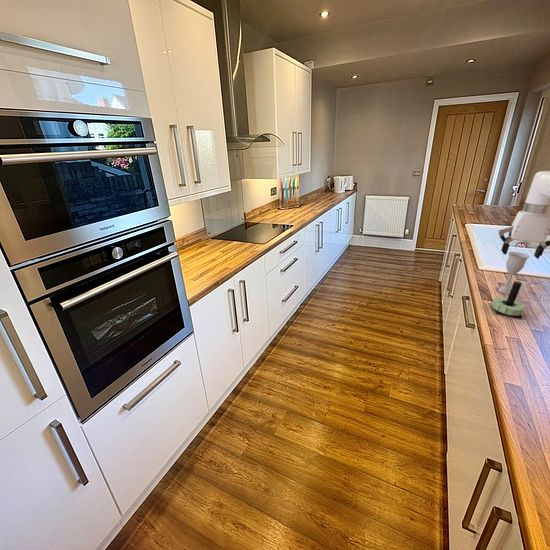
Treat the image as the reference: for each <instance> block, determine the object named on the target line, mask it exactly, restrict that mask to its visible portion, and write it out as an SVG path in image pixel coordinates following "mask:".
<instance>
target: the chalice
mask: <svg viewBox="0 0 550 550" xmlns="http://www.w3.org/2000/svg"><path fill="white" fill-rule="evenodd" d="M529 258H530V255H529V254H526V253H524V252H519V251H509V252H508V257H507V260H506V262H505V266H506V271H507V274H509V276H508V277H507V279H506V280H505V282H506V283H505V284H504V285H501V286H500V287H499V288H498V289H497V291H498V292H500V293H502V294H504V295H505V294H506V295H509V294H510V291H511V289H512V287H511V286H510V284H511V283H512V281H511V280H512V279H513V276H514V275H517V274H518V273H519V272H521V271H522V269H524V268H525V265H526V263H527V260H528V259H529Z"/></svg>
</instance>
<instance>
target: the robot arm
mask: <svg viewBox="0 0 550 550" xmlns="http://www.w3.org/2000/svg"><path fill="white" fill-rule="evenodd" d="M497 232H498V235H499V239H501V241H502V243H503V244H502V246H501V252H502V254H503V255H504V256H505V255H507V254H508V251H509V248H510V243H512V242H513V241H521V242H531V243H538V244H539V245H537V247H536V249H535V251H534V254H533V256H534V257H535V259H540V257H542V256H543V254H544V251H545V249H547V248H548V247H550V239H548V240H547V238H548V236H549V237H550V170H540V171H538V172H536V173H535V174H534V176H533V179H532V181H531V185H530V187H529V191H528V193H527V195H526V199H525V202H524V205H523V207H522V210H519V211H518V212H517V214H516V215H515V218H514V219H513V221H512V224H511V226H509V227H506V228H502V229H499V230H498V231H497ZM505 233H508V236H507V237H505Z"/></svg>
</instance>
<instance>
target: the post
mask: <svg viewBox="0 0 550 550" xmlns="http://www.w3.org/2000/svg"><path fill="white" fill-rule="evenodd" d="M522 285H523V283H522V282H521V281H516V280H514V282H513V283H512V286H511V291H510V294H508V297H507V298H508V299H507V301H506V304H505V305H507V306H512V307H513V304H514V302H515V300H517V297H518V295H519V292H520V290H521V287H522ZM494 311H495V313H496V314H497V315H501V316H507V317H511V318H517V319H522V318H523V315H522V314H521V315H517V316H514V315H508V314H506V313H505V314H504V313H501V312H499V311H497V310H496V309H494Z"/></svg>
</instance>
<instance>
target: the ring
mask: <svg viewBox="0 0 550 550" xmlns="http://www.w3.org/2000/svg"><path fill="white" fill-rule="evenodd" d="M507 299H508V297H504V296H503V297H502V296H499V297H498V296H497V297H495V298H494V299H493V301H492V303H491V307H492V308H493V310H495V309H496V310H497V311H499V312H501V313H504V314H505V313H506V314H508V315H514V316H517V315H522V314H523V313H524V311H525V305H524V304H523V303H521V302H519V301H518V300H517V299H515V302H514V304H513V307H512V306H507V305H505V304H506V301H507ZM496 310H495V311H496Z"/></svg>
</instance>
